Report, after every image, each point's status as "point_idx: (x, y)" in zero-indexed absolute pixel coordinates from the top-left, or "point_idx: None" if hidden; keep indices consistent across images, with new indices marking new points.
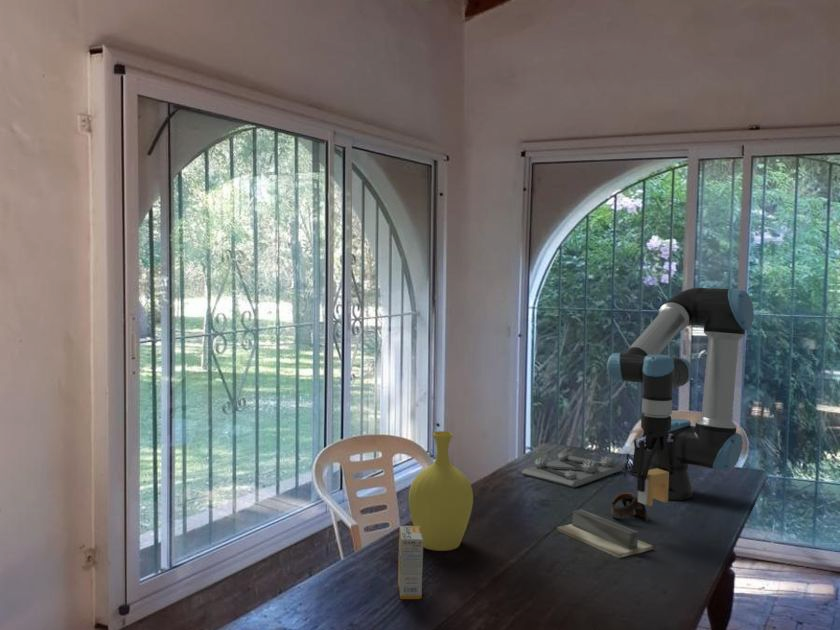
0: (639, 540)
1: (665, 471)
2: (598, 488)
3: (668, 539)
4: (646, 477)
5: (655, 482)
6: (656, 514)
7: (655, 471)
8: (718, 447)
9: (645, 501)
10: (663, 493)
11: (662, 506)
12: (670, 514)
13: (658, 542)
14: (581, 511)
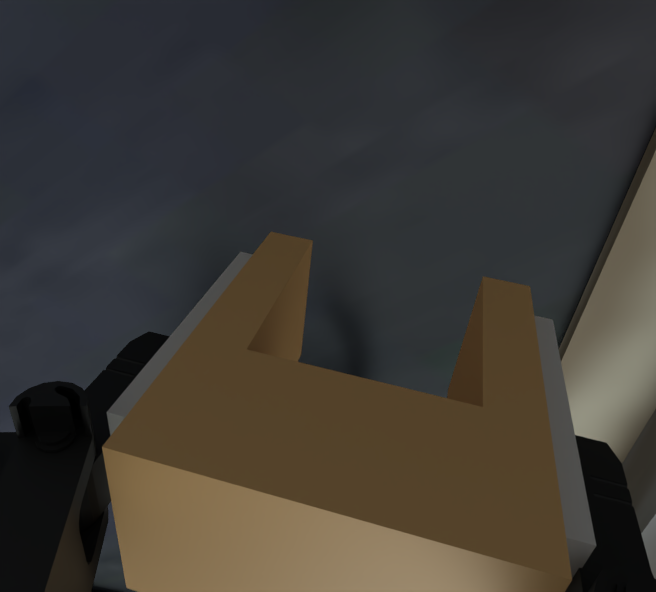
0: (646, 179)
1: (132, 488)
2: (111, 563)
3: (388, 95)
4: (595, 589)
5: (439, 435)
6: (119, 332)
7: (267, 576)
8: None
9: (555, 341)
10: (285, 300)
11: (22, 356)
12: (59, 290)
13: (497, 106)
14: (652, 568)
